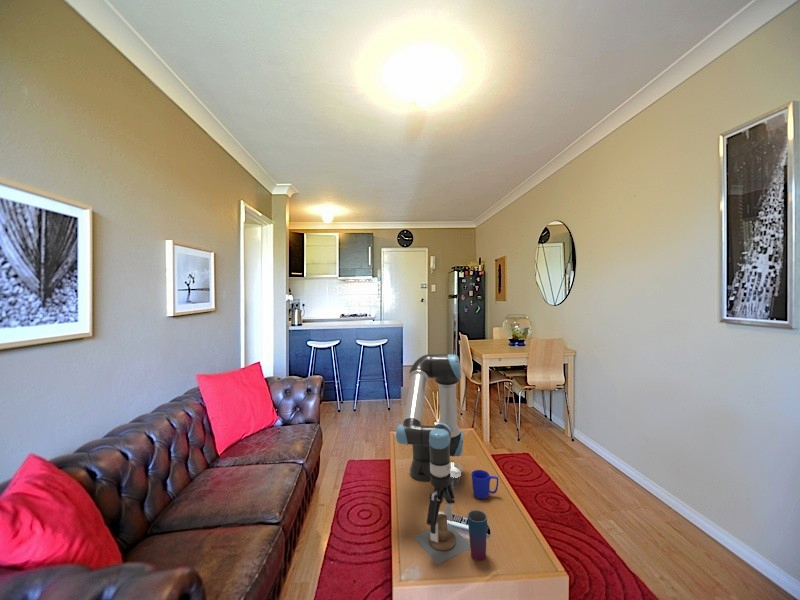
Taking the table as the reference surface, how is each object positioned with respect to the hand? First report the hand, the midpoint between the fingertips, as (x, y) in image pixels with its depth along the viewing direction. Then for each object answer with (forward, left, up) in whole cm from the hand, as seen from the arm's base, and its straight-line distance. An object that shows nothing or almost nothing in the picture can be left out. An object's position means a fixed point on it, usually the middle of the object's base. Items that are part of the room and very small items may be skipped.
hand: (442, 529), depth 127 cm
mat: (0, 0, -5) cm, 5 cm away
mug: (-15, +35, -6) cm, 38 cm away
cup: (+12, +7, -6) cm, 15 cm away
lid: (0, 0, -4) cm, 4 cm away
